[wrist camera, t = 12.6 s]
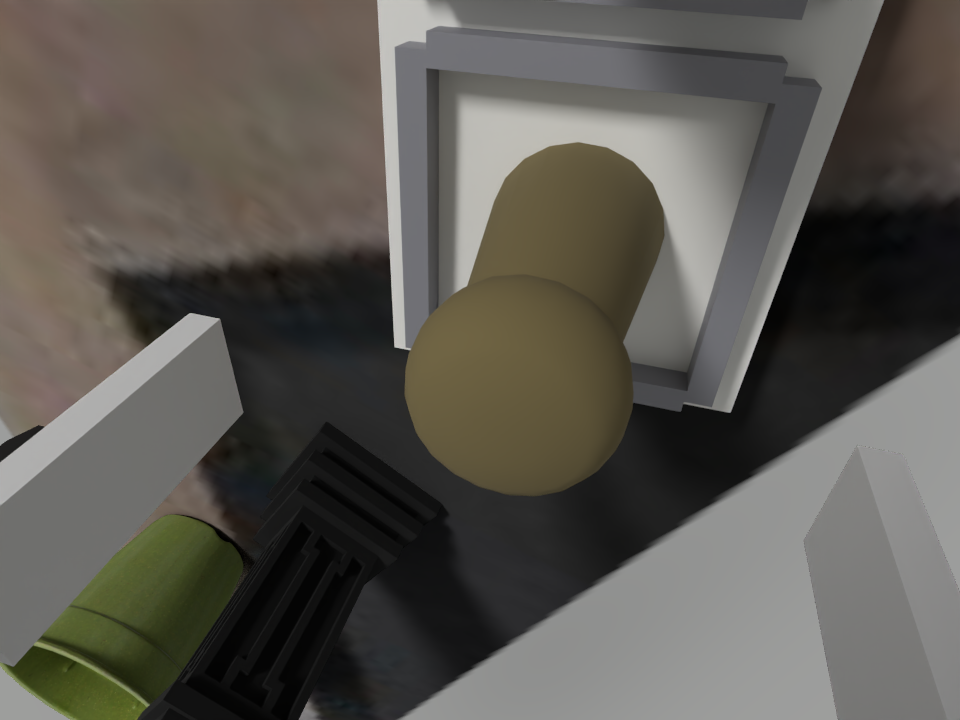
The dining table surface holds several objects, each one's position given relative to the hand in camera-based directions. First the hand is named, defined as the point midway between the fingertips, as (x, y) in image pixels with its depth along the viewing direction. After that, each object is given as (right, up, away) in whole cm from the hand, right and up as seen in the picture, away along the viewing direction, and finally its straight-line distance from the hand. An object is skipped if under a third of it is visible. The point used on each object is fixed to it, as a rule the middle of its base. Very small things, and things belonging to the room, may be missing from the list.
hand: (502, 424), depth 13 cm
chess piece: (-8, -7, +24) cm, 26 cm away
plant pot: (-21, -12, +32) cm, 40 cm away
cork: (+3, +6, +9) cm, 11 cm away
